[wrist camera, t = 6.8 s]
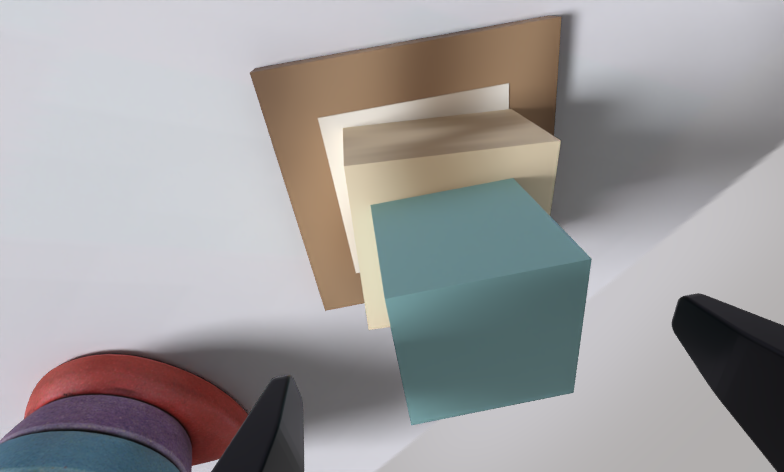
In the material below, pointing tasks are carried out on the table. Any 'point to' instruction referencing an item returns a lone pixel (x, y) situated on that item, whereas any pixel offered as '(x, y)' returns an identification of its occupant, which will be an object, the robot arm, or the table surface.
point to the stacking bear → (121, 419)
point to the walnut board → (391, 117)
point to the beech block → (437, 172)
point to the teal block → (480, 298)
